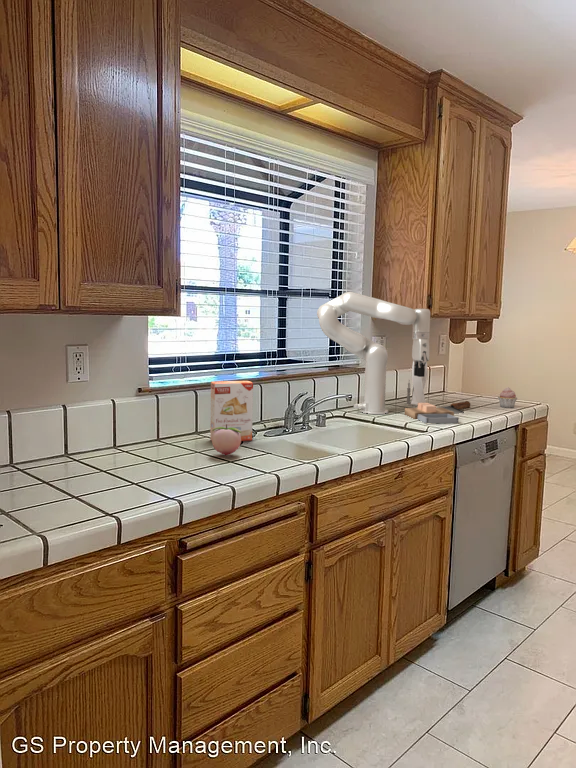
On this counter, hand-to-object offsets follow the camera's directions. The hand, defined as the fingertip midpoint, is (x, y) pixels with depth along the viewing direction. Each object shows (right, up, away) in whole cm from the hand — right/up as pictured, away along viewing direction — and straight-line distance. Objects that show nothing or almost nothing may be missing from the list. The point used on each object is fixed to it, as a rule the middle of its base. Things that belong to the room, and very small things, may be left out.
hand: (419, 375), depth 263 cm
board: (+2, -18, -8) cm, 20 cm away
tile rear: (+1, -15, -6) cm, 16 cm away
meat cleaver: (+19, -18, +6) cm, 27 cm away
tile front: (+2, -16, -11) cm, 19 cm away
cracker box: (-80, -24, -61) cm, 103 cm away
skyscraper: (+5, -15, +26) cm, 30 cm away
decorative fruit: (-80, -27, -83) cm, 118 cm away
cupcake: (+49, -16, +23) cm, 56 cm away
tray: (+3, -20, -20) cm, 28 cm away
